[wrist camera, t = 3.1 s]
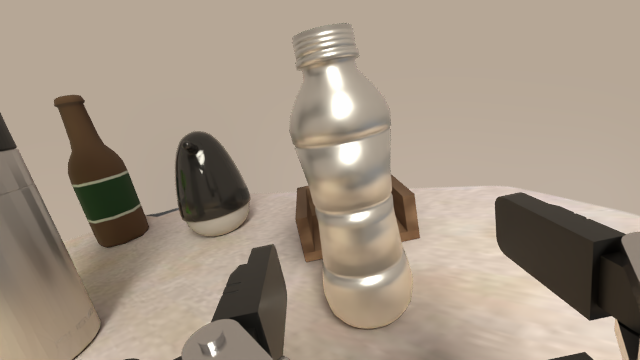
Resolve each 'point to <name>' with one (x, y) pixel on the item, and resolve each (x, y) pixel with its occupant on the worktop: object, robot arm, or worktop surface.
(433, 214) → the worktop surface
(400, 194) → the u rest
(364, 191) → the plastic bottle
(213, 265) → the worktop surface
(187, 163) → the black egg-shaped dispenser
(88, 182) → the beer bottle
